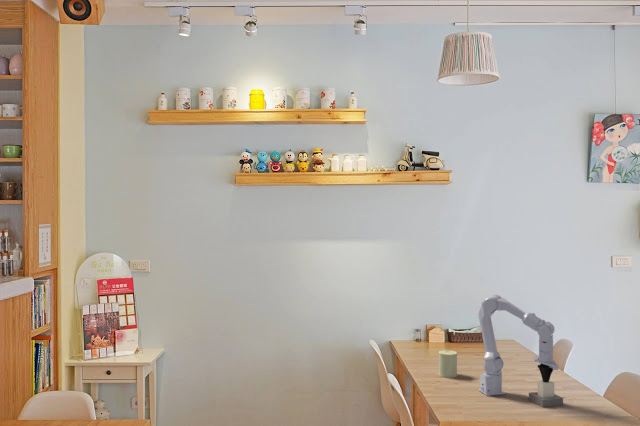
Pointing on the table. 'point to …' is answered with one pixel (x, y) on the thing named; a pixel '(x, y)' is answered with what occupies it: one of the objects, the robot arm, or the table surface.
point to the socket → (545, 400)
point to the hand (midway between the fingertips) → (545, 381)
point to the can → (447, 363)
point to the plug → (545, 389)
